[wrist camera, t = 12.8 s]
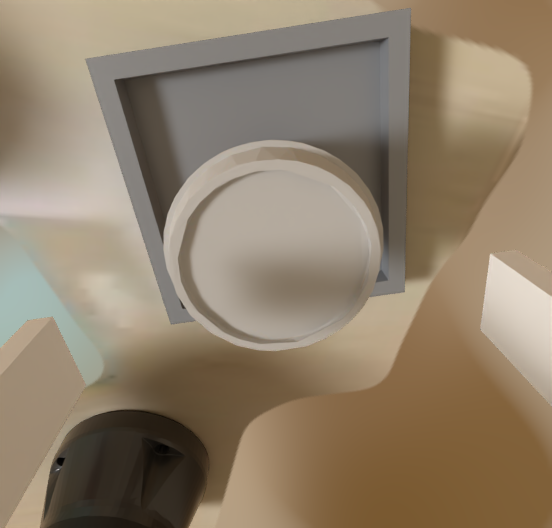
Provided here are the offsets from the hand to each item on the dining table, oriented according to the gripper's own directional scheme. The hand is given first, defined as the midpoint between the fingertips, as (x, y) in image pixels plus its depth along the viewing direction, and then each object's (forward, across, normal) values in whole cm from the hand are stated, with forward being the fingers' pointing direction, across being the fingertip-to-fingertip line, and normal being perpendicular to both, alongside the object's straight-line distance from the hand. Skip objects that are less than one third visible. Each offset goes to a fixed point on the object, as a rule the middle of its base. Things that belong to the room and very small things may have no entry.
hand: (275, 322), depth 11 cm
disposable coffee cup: (+16, 0, 0) cm, 16 cm away
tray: (+17, 0, 0) cm, 17 cm away
